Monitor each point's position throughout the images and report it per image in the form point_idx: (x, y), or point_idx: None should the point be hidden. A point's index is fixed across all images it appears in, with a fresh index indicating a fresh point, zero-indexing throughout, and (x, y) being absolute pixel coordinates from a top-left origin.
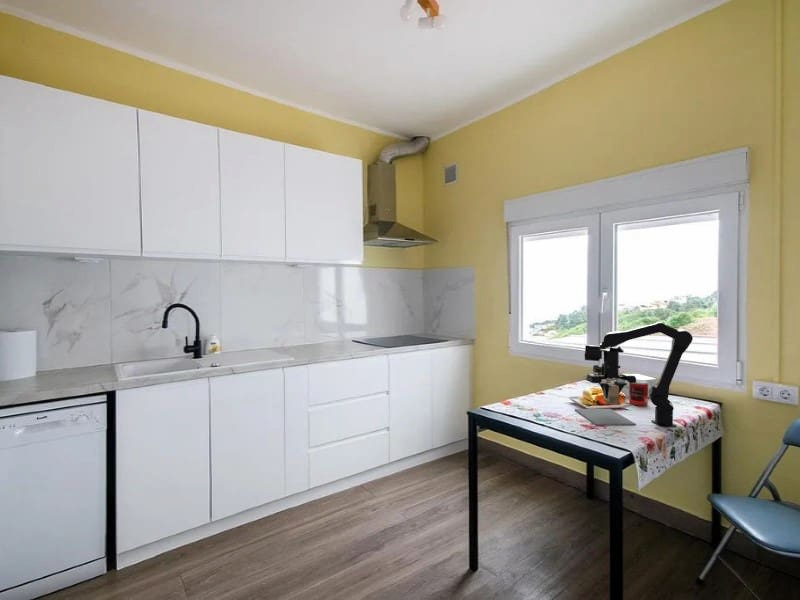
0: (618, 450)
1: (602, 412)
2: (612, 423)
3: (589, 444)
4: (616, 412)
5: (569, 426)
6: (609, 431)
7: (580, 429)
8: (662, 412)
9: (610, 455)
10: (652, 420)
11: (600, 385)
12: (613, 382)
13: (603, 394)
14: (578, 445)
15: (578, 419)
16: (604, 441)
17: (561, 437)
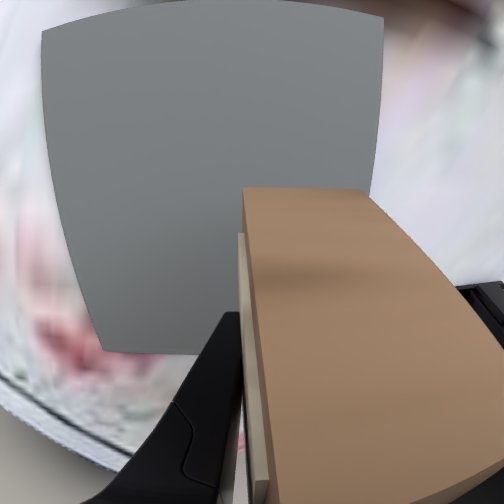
0: None
1: (248, 111)
2: (199, 350)
3: (73, 441)
4: (377, 124)
5: (2, 339)
6: (151, 399)
7: (41, 370)
8: None
9: (115, 470)
10: (458, 290)
11: (111, 496)
12: None
13: (247, 238)
14: (49, 437)
15: (27, 253)
16: (113, 440)
17: (5, 401)
